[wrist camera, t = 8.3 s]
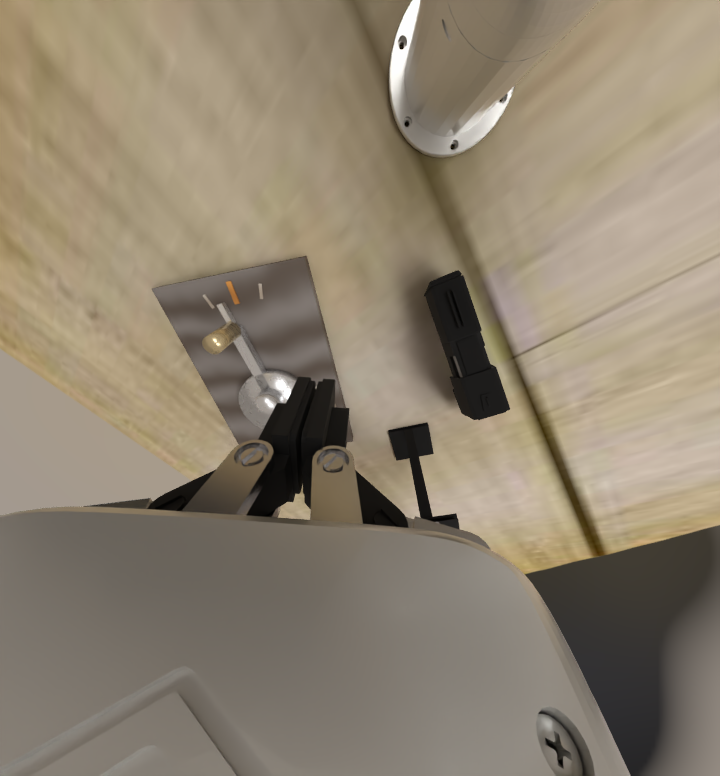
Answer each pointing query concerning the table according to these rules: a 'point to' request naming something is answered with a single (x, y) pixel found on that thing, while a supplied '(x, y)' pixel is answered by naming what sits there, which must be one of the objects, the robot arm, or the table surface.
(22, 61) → the table surface
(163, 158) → the table surface
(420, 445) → the handbag
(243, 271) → the level board
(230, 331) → the crank handle
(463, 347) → the toy
